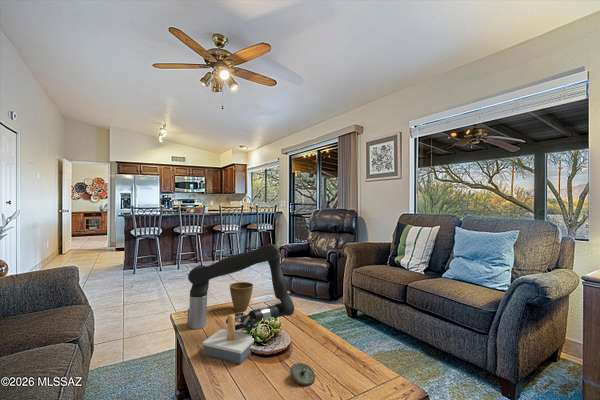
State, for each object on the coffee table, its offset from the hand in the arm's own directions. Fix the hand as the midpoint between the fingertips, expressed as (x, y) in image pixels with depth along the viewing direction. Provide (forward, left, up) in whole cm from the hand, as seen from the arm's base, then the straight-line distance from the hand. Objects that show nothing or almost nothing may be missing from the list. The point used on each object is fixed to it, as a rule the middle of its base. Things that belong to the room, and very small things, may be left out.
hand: (230, 324), depth 135 cm
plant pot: (-22, +48, -13) cm, 54 cm away
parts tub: (0, 0, -13) cm, 13 cm away
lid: (+38, -6, -13) cm, 41 cm away
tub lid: (0, 0, -10) cm, 10 cm away
